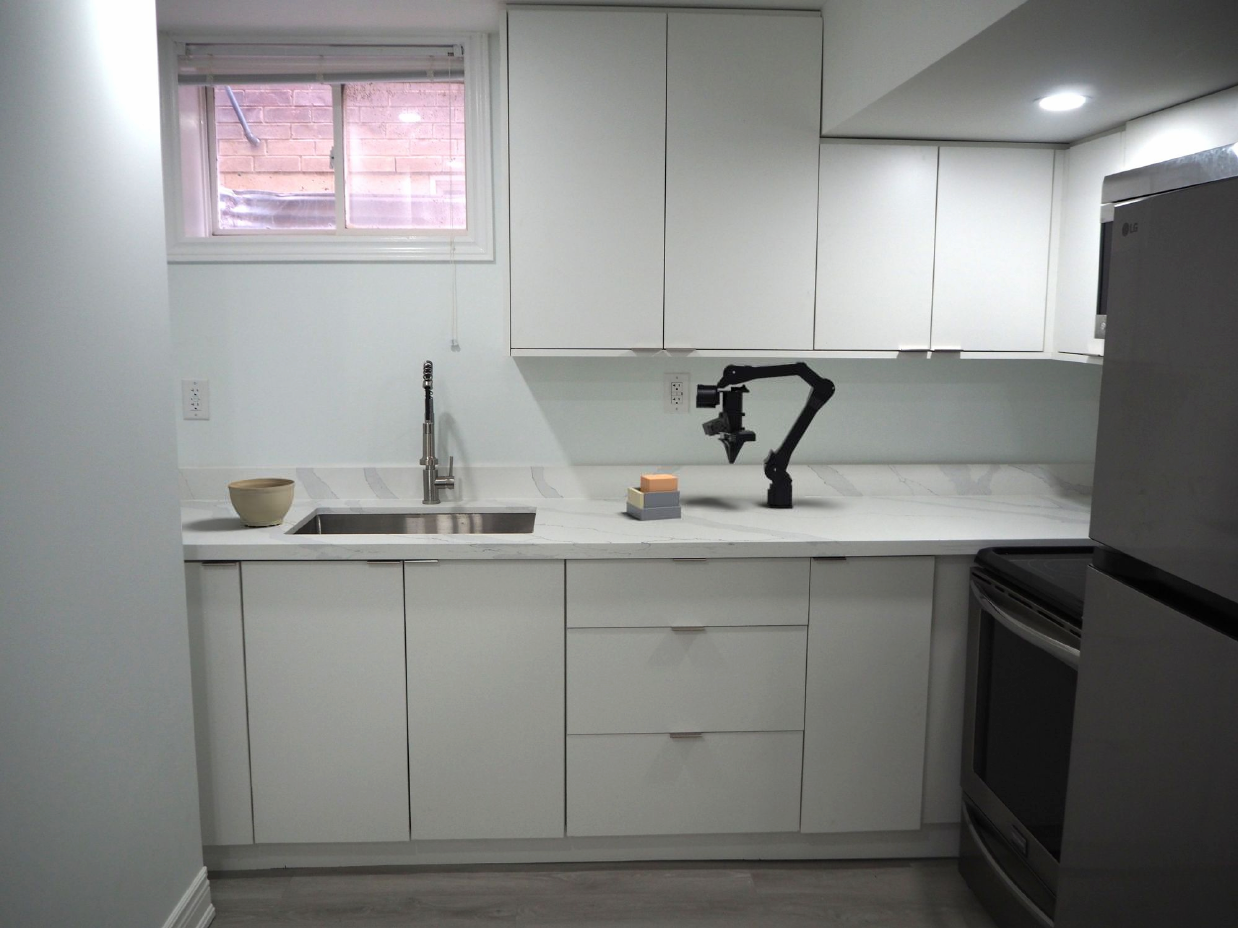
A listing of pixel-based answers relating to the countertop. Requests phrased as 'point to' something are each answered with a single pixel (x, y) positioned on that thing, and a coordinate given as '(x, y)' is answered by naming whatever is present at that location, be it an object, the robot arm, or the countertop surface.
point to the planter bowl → (262, 500)
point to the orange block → (658, 483)
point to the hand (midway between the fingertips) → (731, 463)
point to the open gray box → (653, 504)
